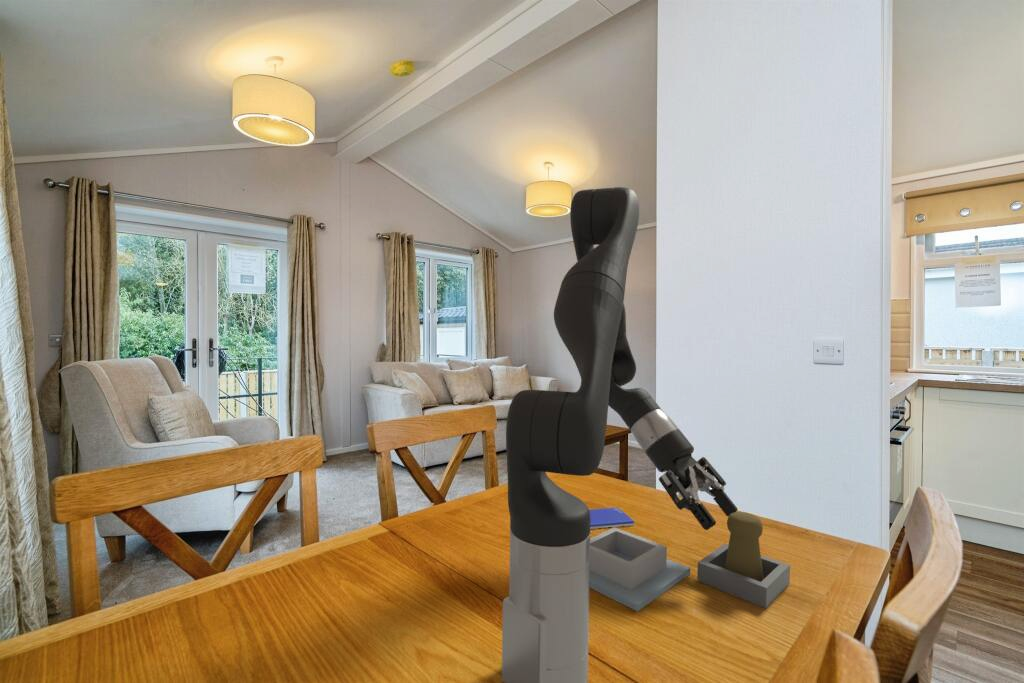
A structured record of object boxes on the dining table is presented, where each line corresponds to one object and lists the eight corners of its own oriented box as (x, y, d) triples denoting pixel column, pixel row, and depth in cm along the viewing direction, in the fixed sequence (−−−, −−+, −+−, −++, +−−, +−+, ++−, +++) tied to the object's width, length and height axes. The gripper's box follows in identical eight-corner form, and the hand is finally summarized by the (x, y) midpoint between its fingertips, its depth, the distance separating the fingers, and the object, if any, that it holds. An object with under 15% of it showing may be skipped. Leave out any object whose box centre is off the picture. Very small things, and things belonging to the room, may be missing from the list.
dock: (637, 611, 68) (638, 580, 68) (554, 569, 80) (554, 543, 80) (690, 573, 79) (690, 547, 79) (610, 541, 91) (610, 518, 91)
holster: (766, 608, 70) (766, 588, 69) (697, 580, 77) (697, 562, 77) (789, 583, 77) (790, 564, 77) (724, 560, 84) (724, 543, 84)
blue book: (617, 506, 107) (564, 510, 104) (634, 520, 99) (578, 525, 96) (617, 513, 107) (564, 517, 104) (634, 528, 99) (578, 533, 96)
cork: (741, 594, 73) (743, 523, 73) (714, 575, 79) (716, 509, 79) (773, 589, 75) (775, 520, 75) (745, 570, 81) (746, 506, 80)
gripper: (654, 433, 80) (721, 520, 72) (693, 422, 90) (756, 498, 82) (626, 458, 84) (687, 543, 76) (667, 445, 94) (724, 519, 86)
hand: (722, 520), depth 79 cm, fingers open, 8 cm apart
